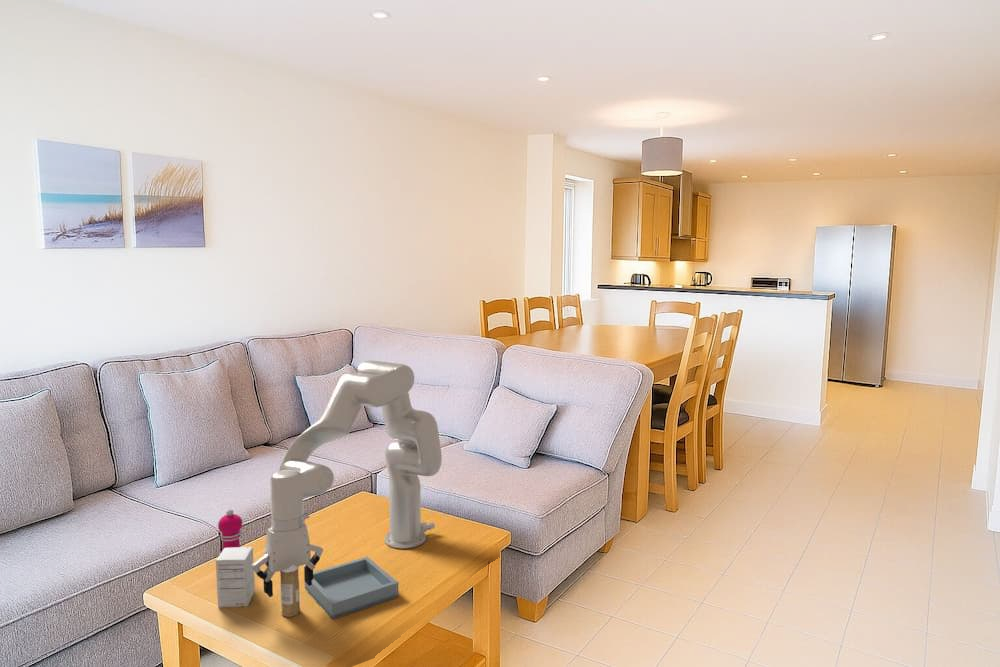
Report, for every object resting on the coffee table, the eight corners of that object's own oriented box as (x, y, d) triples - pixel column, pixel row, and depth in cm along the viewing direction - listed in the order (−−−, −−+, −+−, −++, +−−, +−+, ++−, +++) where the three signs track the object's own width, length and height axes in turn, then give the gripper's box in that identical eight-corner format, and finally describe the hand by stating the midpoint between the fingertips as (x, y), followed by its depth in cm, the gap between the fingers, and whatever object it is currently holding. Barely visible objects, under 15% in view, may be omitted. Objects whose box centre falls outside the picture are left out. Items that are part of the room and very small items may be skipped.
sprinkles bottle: (304, 611, 165) (302, 559, 163) (288, 619, 161) (287, 567, 159) (292, 605, 167) (290, 554, 166) (277, 613, 164) (275, 561, 162)
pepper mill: (252, 576, 182) (250, 506, 180) (234, 589, 175) (231, 516, 173) (231, 572, 184) (228, 502, 182) (212, 584, 178) (208, 512, 175)
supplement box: (226, 593, 173) (224, 546, 172) (255, 592, 174) (253, 546, 172) (216, 608, 166) (214, 560, 164) (247, 607, 167) (245, 559, 165)
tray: (367, 570, 186) (367, 556, 186) (398, 597, 172) (398, 582, 172) (304, 589, 176) (304, 574, 175) (332, 619, 161) (331, 604, 161)
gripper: (316, 509, 169) (317, 573, 171) (246, 524, 159) (248, 592, 161) (327, 518, 163) (328, 585, 165) (256, 535, 153) (257, 606, 155)
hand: (289, 588), depth 163 cm, fingers open, 9 cm apart
